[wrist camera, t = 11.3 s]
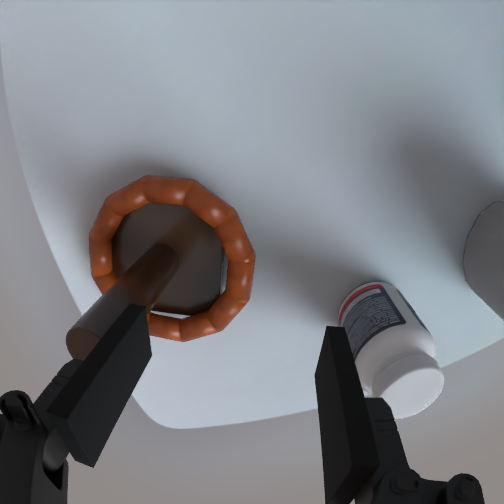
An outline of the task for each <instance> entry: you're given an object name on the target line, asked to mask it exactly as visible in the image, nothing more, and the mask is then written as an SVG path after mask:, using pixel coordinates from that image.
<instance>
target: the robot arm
mask: <svg viewBox="0 0 504 504" xmlns="http://www.w3.org/2000/svg"><path fill="white" fill-rule="evenodd" d="M151 357H152V352H151V345H150V337H149V329H148V320H147V311H146V306H144V305H138V304H132V303H130V304H129V305H128V306H127V307H126V309H125V310H124V311H123V312H122V313H121V315H120V316H119V317H118V318H117V319H116V321H115V322H114V323H113V324H112V326H111V327H110V328H109V329H108V331H107V332H106V333H105V334H104V336H103V337H102V338H101V339H100V341H99V342H98V343H97V344H96V346H95V347H94V348H93V349H92V351H91V352H90V353H89V354H88V356H87V357H86V358H85V360H84V361H83V360H80V359H76V358H74V359H73V360H71V361H70V362H68V363H66V364H65V365H64V366H63V367H62V368H61V370H60V371H59V372H58V374H57V376H55V377H54V378H53V379H52V382H51V383H49V385H48V386H47V387H46V388H45V390H44V391H43V392H42V393H41V395H40V396H39V397H38V399H37V400H36V401H35V402H34V404H33V403H32V401H31V399H30V397H29V396H28V395H27V394H26V393H25V392H22V391H19V390H15V391H10V392H7V393H5V394H3V395H2V396H1V397H0V410H1V412H2V413H3V414H0V504H67V488H68V462H67V460H66V457H67V455H68V453H69V452H70V453H71V455H72V457H73V458H74V460H75V461H78V462H80V463H83V464H85V465H87V466H90V467H93V468H94V466H95V464H96V462H97V460H98V458H99V456H100V454H101V452H102V450H103V448H104V446H105V444H106V442H107V440H108V438H109V436H110V434H111V432H112V430H113V428H114V426H115V424H116V422H117V420H118V419H119V417H120V415H121V413H122V411H123V409H124V407H125V405H126V403H127V401H128V399H129V398H130V396H131V394H132V392H133V390H134V388H135V386H136V384H137V382H138V381H139V379H140V377H141V375H142V373H143V371H144V370H145V368H146V366H147V364H148V362H149V360H150V358H151ZM315 384H316V393H317V403H318V413H319V422H320V434H321V446H322V458H323V472H324V487H325V504H350V503H351V501H352V500H353V499H355V504H485V503H484V498H483V493H482V488H481V486H480V483H479V481H478V480H477V479H476V478H475V477H474V476H472V475H470V474H463V473H461V474H458V475H455V476H454V477H453V478H452V479H450V480H449V481H448V482H444V481H433V480H426V479H423V478H421V477H420V475H419V474H418V473H416V472H415V471H414V470H412V469H410V468H409V465H408V463H407V459H406V456H405V452H404V449H403V446H402V442H401V439H400V435H399V432H398V431H397V426H396V423H395V421H394V416H393V413H392V410H391V407H390V406H389V405H388V404H387V402H386V401H385V400H384V399H383V398H382V397H375V398H365V397H364V394H363V390H362V386H361V382H360V379H359V375H358V371H357V368H356V364H355V361H354V357H353V354H352V350H351V347H350V343H349V340H348V337H347V333H346V330H345V327H336V326H327V327H326V331H325V335H324V340H323V344H322V348H321V352H320V356H319V360H318V364H317V368H316V372H315Z"/></svg>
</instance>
